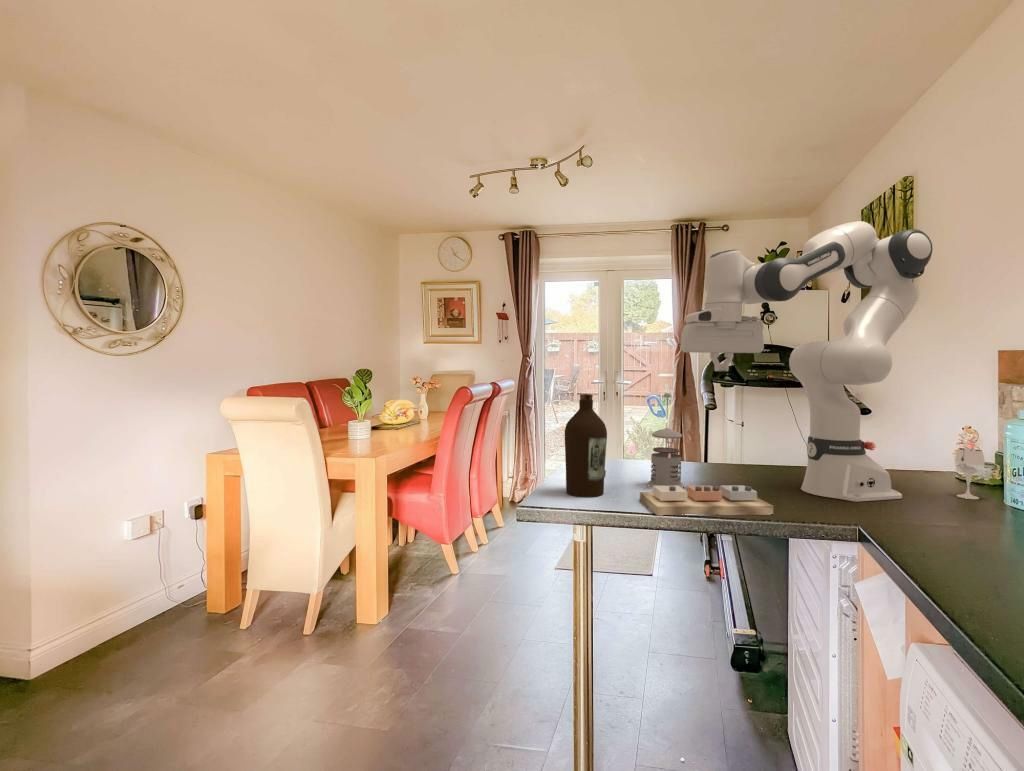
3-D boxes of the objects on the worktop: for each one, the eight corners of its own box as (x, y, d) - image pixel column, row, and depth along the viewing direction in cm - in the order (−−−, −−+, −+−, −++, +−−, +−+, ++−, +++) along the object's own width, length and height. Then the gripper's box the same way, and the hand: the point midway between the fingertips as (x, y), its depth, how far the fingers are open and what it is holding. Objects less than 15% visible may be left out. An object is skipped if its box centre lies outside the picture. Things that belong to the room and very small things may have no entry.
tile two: (744, 493, 131) (744, 482, 131) (756, 500, 125) (757, 488, 125) (719, 493, 131) (719, 482, 131) (730, 500, 125) (731, 488, 125)
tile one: (677, 493, 131) (678, 482, 130) (687, 500, 125) (687, 488, 125) (652, 494, 130) (653, 482, 130) (660, 500, 124) (661, 488, 124)
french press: (642, 486, 148) (644, 393, 147) (653, 478, 158) (655, 390, 157) (680, 491, 143) (682, 394, 142) (689, 482, 154) (691, 392, 152)
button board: (745, 499, 135) (745, 491, 135) (773, 514, 122) (773, 505, 122) (639, 500, 134) (640, 492, 134) (656, 515, 121) (656, 506, 121)
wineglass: (983, 497, 140) (985, 449, 139) (981, 501, 136) (984, 452, 135) (954, 493, 144) (956, 447, 143) (952, 497, 140) (954, 449, 139)
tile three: (711, 493, 131) (711, 482, 131) (722, 500, 125) (722, 488, 125) (686, 493, 131) (686, 482, 131) (696, 500, 125) (696, 488, 125)
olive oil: (555, 492, 141) (556, 394, 140) (581, 486, 148) (583, 392, 147) (588, 500, 133) (589, 396, 132) (614, 493, 141) (616, 394, 139)
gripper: (757, 317, 143) (755, 371, 144) (678, 316, 142) (677, 370, 142) (769, 315, 137) (768, 371, 137) (688, 314, 135) (686, 371, 136)
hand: (721, 371), depth 140 cm, fingers closed
